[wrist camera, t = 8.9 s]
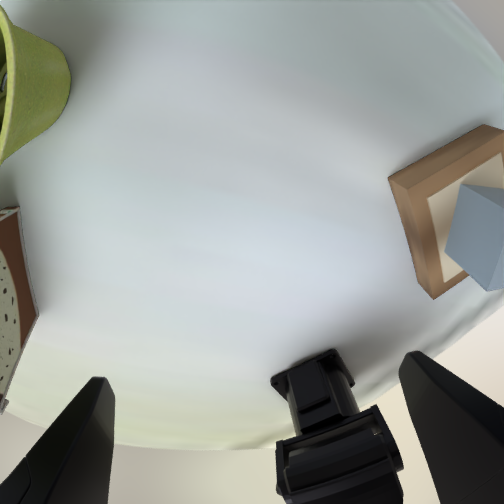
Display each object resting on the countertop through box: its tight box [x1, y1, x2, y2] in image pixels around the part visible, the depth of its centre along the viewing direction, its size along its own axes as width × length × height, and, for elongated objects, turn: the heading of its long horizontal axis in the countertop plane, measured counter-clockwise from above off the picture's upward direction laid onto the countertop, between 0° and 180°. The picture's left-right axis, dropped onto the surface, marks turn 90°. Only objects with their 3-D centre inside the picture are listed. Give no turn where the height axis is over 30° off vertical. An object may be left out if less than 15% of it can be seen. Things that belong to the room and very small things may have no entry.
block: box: [444, 184, 504, 291], centre depth 16 cm, size 5×5×5 cm
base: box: [388, 124, 504, 300], centre depth 20 cm, size 10×10×3 cm
